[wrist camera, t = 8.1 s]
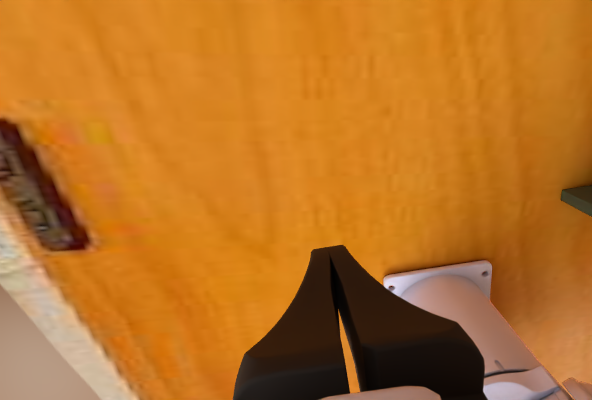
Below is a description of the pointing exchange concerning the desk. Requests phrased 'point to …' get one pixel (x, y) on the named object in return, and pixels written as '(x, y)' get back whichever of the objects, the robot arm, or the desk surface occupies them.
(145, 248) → the desk surface
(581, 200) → the box
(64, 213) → the desk surface
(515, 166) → the desk surface
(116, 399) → the desk surface
